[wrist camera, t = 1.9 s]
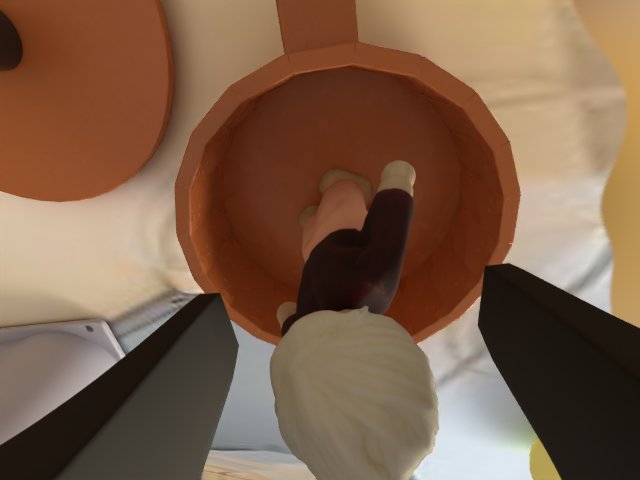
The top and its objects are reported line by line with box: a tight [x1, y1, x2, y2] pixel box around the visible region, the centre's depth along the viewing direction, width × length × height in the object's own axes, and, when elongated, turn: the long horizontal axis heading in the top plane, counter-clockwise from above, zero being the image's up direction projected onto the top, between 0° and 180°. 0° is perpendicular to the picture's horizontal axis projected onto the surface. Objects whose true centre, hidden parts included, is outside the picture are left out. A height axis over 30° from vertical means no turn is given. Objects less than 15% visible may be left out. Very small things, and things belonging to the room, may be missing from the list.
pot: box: [175, 0, 520, 346], centre depth 15 cm, size 13×19×5 cm
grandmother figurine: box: [270, 160, 439, 480], centre depth 11 cm, size 8×4×13 cm, turn 159°
